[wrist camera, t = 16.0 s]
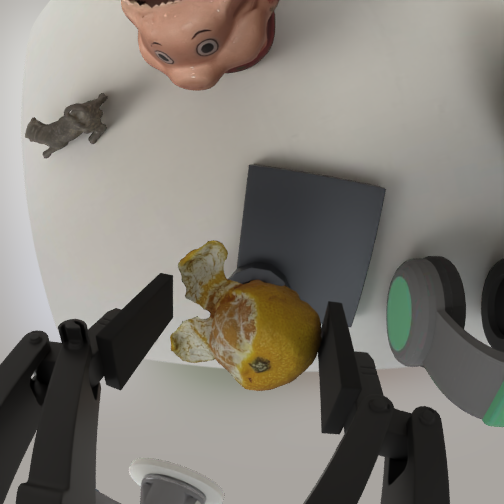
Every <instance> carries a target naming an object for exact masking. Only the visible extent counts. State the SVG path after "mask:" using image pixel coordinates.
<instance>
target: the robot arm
mask: <svg viewBox="0 0 504 504" xmlns="http://www.w3.org/2000/svg"><path fill="white" fill-rule="evenodd" d="M172 318H173V275H168V274H163V273H160V274H159V275H158V276H157V277H156V278H155V279H154V280H152V281H151V282H150V283H149V284H148V285H147V286H146V287H145V288H144V289H143V290H142V291H141V292H140V293H139V294H138V295H137V296H136V297H135V298H133V299H132V300H131V301H130V302H129V303H128V304H127V305H126V306H125V307H124V308H123V309H122V310H121V309H117V308H115V309H113V310H111V311H108V312H107V313H106V314H105V315H104V316H102V318H100V319H99V320H98V321H97V323H95V324H94V325H93V326H92V327H91V328H90V329H89V330H88V329H87V325H86V323H85V322H84V321H82V320H78V319H70V320H67V321H64V322H62V323H61V324H60V325H59V326H58V329H59V334H60V337H61V341H62V343H58V342H50V341H49V338H48V335H47V334H46V333H45V332H43V331H32V332H30V333H28V334H26V335H25V336H24V337H23V338H22V340H21V341H20V342H19V343H18V344H17V345H16V347H15V348H14V349H13V350H12V351H11V353H10V354H9V355H8V356H7V357H6V358H5V360H4V361H3V362H2V363H1V365H0V504H3V503H4V500H5V498H6V495H7V493H8V490H9V488H10V485H11V483H12V481H13V479H14V476H15V474H16V472H17V470H18V468H19V465H20V463H21V461H22V459H23V457H24V454H25V453H26V451H27V448H28V446H29V444H30V442H31V440H32V438H33V436H34V434H35V432H36V430H37V433H36V438H35V443H34V448H33V454H32V459H31V465H30V472H29V478H28V481H27V482H26V483H22V484H20V486H19V487H18V491H17V497H16V504H120V503H119V502H117V501H115V500H113V499H111V498H109V497H107V496H105V495H104V494H102V493H100V492H99V491H98V490H97V489H95V488H96V479H95V475H96V472H95V471H96V442H97V426H98V412H99V403H100V402H99V401H100V393H101V385H100V380H101V379H102V378H103V376H104V377H105V381H106V385H108V386H111V387H113V388H116V389H119V390H121V389H122V388H123V386H124V385H125V384H126V382H127V381H128V380H129V378H130V377H131V375H132V374H133V372H134V371H135V370H136V368H137V367H138V365H139V364H140V362H141V361H142V360H143V358H144V357H145V356H146V354H147V353H148V351H149V350H150V349H151V347H152V346H153V344H154V343H155V342H156V340H157V339H158V337H159V336H160V335H161V333H162V332H163V330H164V329H165V328H166V326H167V325H168V323H169V322H170V321H171V319H172ZM321 332H322V333H321V334H320V335H321V338H322V342H321V343H320V347H319V350H318V359H319V376H320V397H321V423H322V424H321V426H322V433H328V434H340V432H341V431H342V428H343V427H344V432H345V435H344V437H343V438H342V440H341V442H340V443H339V445H338V447H337V449H336V451H335V453H334V455H333V456H332V458H331V460H330V462H329V463H328V465H327V467H326V468H325V470H324V472H323V474H322V475H321V477H320V479H319V480H318V482H317V483H316V485H315V487H314V488H313V490H312V491H311V493H310V495H309V496H308V497H307V499H306V500H305V502H304V503H303V504H357V503H358V501H359V499H360V497H361V495H362V493H363V490H364V488H365V486H366V484H367V481H368V479H369V477H370V474H371V472H372V470H373V467H374V465H375V462H376V460H377V457H378V455H380V456H384V457H385V462H384V476H383V487H382V497H381V504H450V497H449V480H448V469H447V458H446V450H445V443H444V435H443V428H442V422H441V418H440V415H439V414H438V413H437V412H436V411H435V410H433V409H432V408H430V407H426V406H423V407H422V406H421V407H418V408H416V409H415V410H414V411H413V412H412V413H408V412H404V411H400V410H397V409H395V408H394V406H393V404H392V402H391V401H390V400H389V399H388V398H387V397H385V396H383V392H382V388H381V385H380V381H379V378H378V375H377V371H376V369H375V368H376V367H375V364H374V360H373V359H372V358H371V356H370V355H369V354H368V353H365V352H354V349H353V345H352V341H351V337H350V332H349V328H348V324H347V320H346V316H345V312H344V309H343V305H342V303H339V302H331V301H328V304H327V308H326V312H325V316H324V320H323V324H322V328H321ZM33 373H34V375H35V376H34V377H33V378H32V379H31V376H32V375H33ZM140 499H141V501H140V504H205V502H206V496H205V494H204V493H203V492H202V491H200V490H199V489H198V488H196V487H194V486H192V485H191V484H188V483H186V482H184V481H182V480H179V479H176V478H173V477H170V476H166V475H161V474H146V475H145V476H144V477H143V479H142V482H141V498H140Z"/></svg>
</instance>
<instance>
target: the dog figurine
mask: <svg viewBox="0 0 504 504" xmlns="http://www.w3.org/2000/svg"><path fill="white" fill-rule="evenodd" d="M106 99H107V96H106V95H105V94H104V93H101V94H100V95H99V97H98V98H97V99H95V100H92V101H88V102H86V103H83V104H73V105H70V106H68V107H67V108H66V109H65V111H64V116H63V117H61V118H60V119H59V120H58V121H56V122H54V123H51V124H49V125H48V124H47V125H46V124H43V123H41V122H40V121H38V120H36V118H35V117H34V118H32V119H31V121H30V123H29V124H28V126H27V129H26V133H25V137H26V138H29V139H30V141H31V142H33V141H34V142H37V143H40V144H45V145H47V146H49V147H50V148H49V149H48V150H46V151H44V152H43V156H44V158H48V157H49V156H50V155H51V153H53V152H55V151H57V150H59V149H61V148H63V147H65V146H66V145H67V144H68V143H69V141H71V140H74V139H75V138H77V137H78V136H80V135H81V134H82V133H83V132H84V133H90V132H93V133H92V134H91V136H90V137H89V141H90V143H91V144H94V143H95V142H96V140H97V138H99V137H100V136H101V134H102V133H103V132H104V131H105V130H106V129H107V127H106V125H104V124H102V123H101V121H100V118H101V117H102V115H103V112H102V110H100V109H99V107H100V106H101V105H102V104H103V103H104V102H105V101H106ZM71 110H72V111H71ZM70 111H71V113H69V112H70Z"/></svg>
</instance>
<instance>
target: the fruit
mask: <svg viewBox="0 0 504 504" xmlns="http://www.w3.org/2000/svg"><path fill="white" fill-rule="evenodd" d="M227 255H228V252H227V250H226V249H225V247H224V245H223V244H222V243H220V242H218V241H208V242H207V243H206V244H205V245H203V246H202V247H200V248H199V249H195V250H193V251H191V252H190V253H188V254H187V255H186V256H185V257H184V258H183V259H181V260H180V262H179V263H178V268H179V271H180V272H181V275H182V282H183V283H184V284H185V286H186V295H185V297H186V298H187V299H189V300H191V301H193V302H194V303H197V304H199V305H200V306H201V307H202V308H203V309H206V310H208V311H209V312H210V313H211V315H210V317H209V318H207V319H200V318H198V316H197V317H195V318H192V319H189V320H186V321H184V322H183V321H182V324H181V326H180V327H179V328H177V330H176V331H175V332H174V333H172V335H171V336H170V339H171V351H173V352H174V353H175V354H176V355H177V356H178V357H180V358H181V359H182V360H183V361H187V362H191V363H197V362H202V361H203V362H205V361H208V360H210V361H212V360H214V359H216V360H217V361H218V363H219V364H221V365H222V366H223V367H224V368H225V369H227V370H228V372H229V373H230V374H231V375H232V376H233V377H234V378H235V379H236V381H237V382H238V383H239V384H241V385H242V386H243V387H244V388H245V389H249V390H256V391H263V390H271V389H274V388H277V387H279V386H282V385H285V384H287V383H290V382H292V381H293V380H295V379H296V378H297V377H298V376H299V375H301V374H302V373H303V372H304V371H305V370H306V369H307V368H308V367H309V366H310V365H311V364H312V363H313V361H314V359H315V358H316V356H317V352H318V350H319V347H320V343H321V342H322V338H321V335H320V334H321V333H322V332H321V323H320V318H319V315H318V314H317V312H316V311H315V310H314V309H313V308H312V307H311V306H310V305H309V304H308V303H307V302H304V301H302V300H300V298H299V295H298V294H297V292H296V291H294V290H292V289H290V288H288V287H287V286H286V285H283V286H278V285H274V284H270V283H264V282H263V281H261V280H253V281H251V282H249V283H246V284H241V283H238V282H235V281H231V280H228V279H227V278H225V275H224V270H223V267H224V261H225V260H226V259H227Z"/></svg>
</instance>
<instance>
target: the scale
mask: <svg viewBox="0 0 504 504" xmlns="http://www.w3.org/2000/svg"><path fill="white" fill-rule="evenodd" d="M385 190H386V189H385V188H383V187H380V186H376V185H371V184H367V183H362V182H357V181H352V180H347V179H342V178H337V177H331V176H326V175H320V174H314V173H308V172H302V171H296V170H289V169H283V168H276V167H269V166H261V165H254V164H252V165H249V170H248V178H247V186H246V194H245V203H244V211H243V220H242V228H241V237H240V246H239V254H238V263H237V269H236V271H235V272H234V273H233V274H232V276H231V277H230V278H229V279H228V280H231V281H235V282H238V283H241V284H246V283H249V282H251V281H253V280H261V281H263V282H264V283H270V284H274V285H278V286H283V285H286V286H287V287H288V288H290V289H292V290H294V291H296V292H297V294H298V295H299V298H300V300H302V301H304V302H307V303H308V304H309V305H310V306H311V307H312V308H313V309H314V310H315V311H316V312H317V314H318V315H319V318H320V323H322V324H323V320H324V316H325V312H326V308H327V304H328V301H331V302H339V303H342V305H343V309H344V312H345V316H346V320H347V324H348V327H351V326H352V323H353V320H354V316H355V313H356V310H357V307H358V303H359V300H360V296H361V293H362V289H363V286H364V282H365V279H366V275H367V271H368V267H369V263H370V259H371V255H372V251H373V247H374V243H375V239H376V234H377V230H378V225H379V221H380V216H381V211H382V206H383V201H384V196H385Z"/></svg>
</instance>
